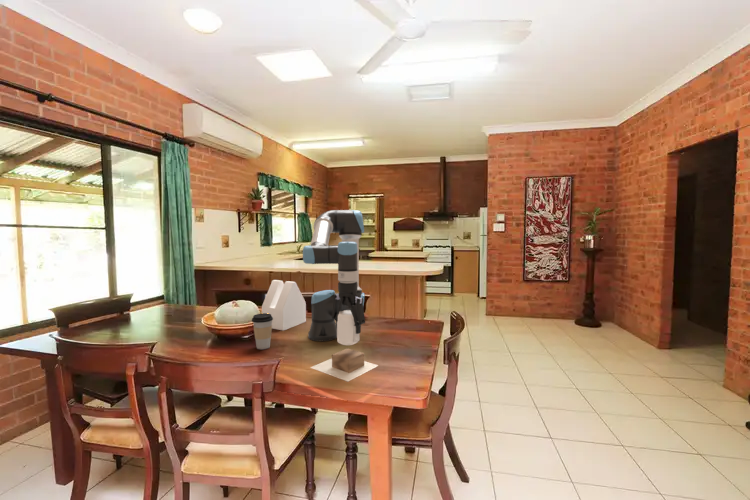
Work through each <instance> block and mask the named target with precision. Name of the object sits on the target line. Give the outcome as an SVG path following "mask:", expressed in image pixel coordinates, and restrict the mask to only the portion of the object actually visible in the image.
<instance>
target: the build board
mask: <svg viewBox="0 0 750 500" xmlns="http://www.w3.org/2000/svg"><path fill="white" fill-rule="evenodd" d="M377 367H379V365H378V364H376V363H371V362H368V361H366V360H364V366H362V367H360V368H358V369H356V370H354V371H352V372H350V373H347V372H344V371H342V370H339V369H336V368H333V367H332V357H331V358H329V359H327V360H323V362H320V363H318V364H314V365H313V366H310V367H309V368H310V369H313V370H316V371H318V372H320V373H324V374H326V375H330V376H332V377H334V378H337V379H339V380H342V381H345V382H350V381H352V380H354V379H356V378H357V377H360V376H361V375H362V376H363V374H366V373H367V372H369V371H371V370H373V369H375V368H377Z"/></svg>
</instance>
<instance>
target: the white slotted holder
mask: <svg viewBox="0 0 750 500" xmlns="http://www.w3.org/2000/svg"><path fill="white" fill-rule="evenodd" d="M270 283H271V284H270V285H269V288H268V290H267V293H266V295H265V297H264V300H263V303H262V305H261V314H262V313H269V314H271V316H272V317H273V320H272V330H280V331H286V330H288V329H291V328H293V327H296V326H298V325H301V324H304V323H306V322H307V304H306V303H307V302H306V301H305V298H304V295H302V292H301V290H300V288H299V286H298V284H297V282H296V281H289V280H288V281H287V280H285V282H284V281H283V280H279V279H273V280H271V282H270Z"/></svg>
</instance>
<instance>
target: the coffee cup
mask: <svg viewBox="0 0 750 500" xmlns="http://www.w3.org/2000/svg"><path fill="white" fill-rule="evenodd" d="M272 320H273V317H272V316H271V314H267V313H263V314H262V313H257V314H254V315H253V317H252V318H251V322H252V325H253V335H254V339H255V345H256V346H255V347H256V349H257V350H267V349H270V348H271V347H270V346H271V338H272V330H273V329H272Z"/></svg>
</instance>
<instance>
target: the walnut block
mask: <svg viewBox="0 0 750 500" xmlns="http://www.w3.org/2000/svg"><path fill="white" fill-rule="evenodd" d="M331 358H332V367H333V368H336V369H339V370H342V371H344V372H347V373H350V372H352V371H354V370H356V369H358V368H360V367H362V366H364V361H365V352H361V351H358V350H354V349H351V348H348V347H347V348H345V349H342V350H340V351H338V352H335V353H333V354H332V353H331Z"/></svg>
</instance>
